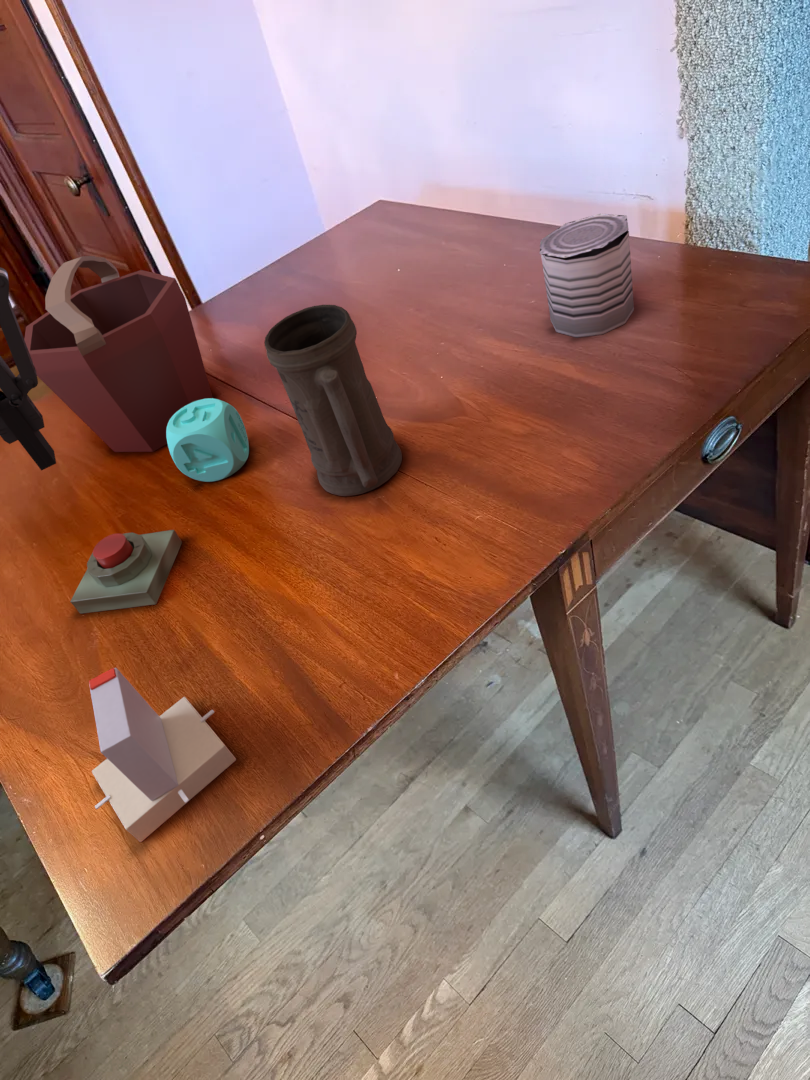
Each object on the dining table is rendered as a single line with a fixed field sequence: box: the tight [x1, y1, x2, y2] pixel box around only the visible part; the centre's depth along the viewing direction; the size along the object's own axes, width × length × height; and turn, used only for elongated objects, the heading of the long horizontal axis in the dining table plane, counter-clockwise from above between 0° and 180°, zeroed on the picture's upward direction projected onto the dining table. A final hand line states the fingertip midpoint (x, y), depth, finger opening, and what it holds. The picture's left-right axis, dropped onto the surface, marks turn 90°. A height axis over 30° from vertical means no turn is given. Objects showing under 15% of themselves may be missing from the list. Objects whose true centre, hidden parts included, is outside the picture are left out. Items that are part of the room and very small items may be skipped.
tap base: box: [91, 696, 237, 843], centre depth 66 cm, size 12×12×3 cm
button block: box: [69, 529, 183, 614], centre depth 87 cm, size 10×10×4 cm
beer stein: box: [263, 304, 403, 497], centre depth 84 cm, size 15×11×20 cm
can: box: [539, 213, 635, 338], centre depth 99 cm, size 11×11×12 cm
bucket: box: [24, 255, 214, 453], centre depth 107 cm, size 24×22×25 cm
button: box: [92, 533, 133, 569], centre depth 86 cm, size 4×4×2 cm
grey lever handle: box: [88, 667, 178, 801], centre depth 62 cm, size 8×2×8 cm, turn 25°
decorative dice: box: [166, 397, 250, 483], centre depth 99 cm, size 8×8×8 cm
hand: (47, 460), depth 71 cm, fingers closed
